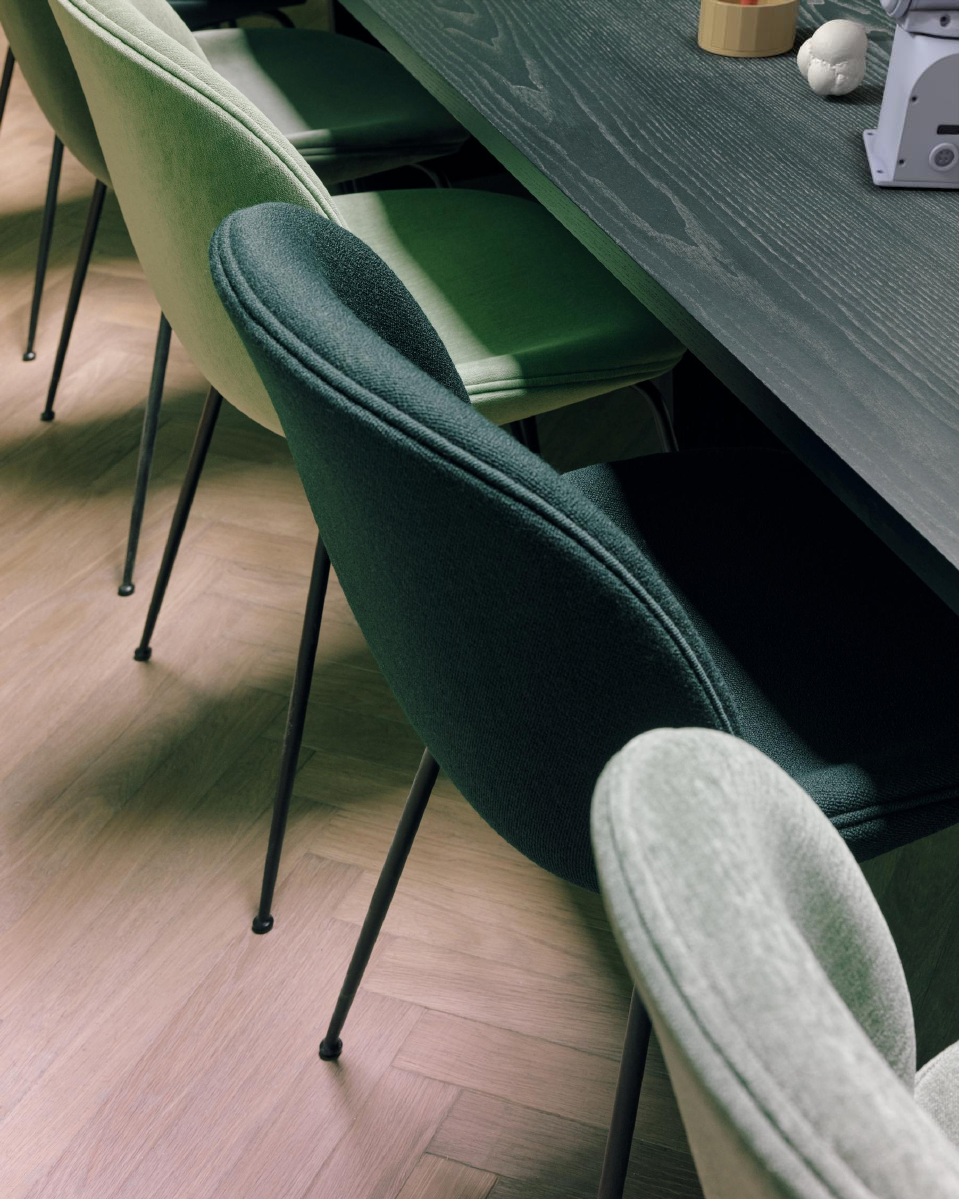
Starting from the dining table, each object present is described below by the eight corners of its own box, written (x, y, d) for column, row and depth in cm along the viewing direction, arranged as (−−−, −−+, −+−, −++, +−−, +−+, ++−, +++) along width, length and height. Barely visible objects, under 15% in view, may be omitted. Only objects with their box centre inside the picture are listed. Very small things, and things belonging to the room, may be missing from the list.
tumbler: (795, 58, 101) (802, 7, 98) (696, 56, 102) (700, 5, 100) (791, 29, 107) (798, -20, 105) (698, 28, 108) (702, -21, 106)
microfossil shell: (850, 109, 92) (863, 32, 88) (782, 100, 94) (792, 24, 90) (866, 91, 94) (879, 15, 91) (799, 82, 96) (810, 8, 93)
